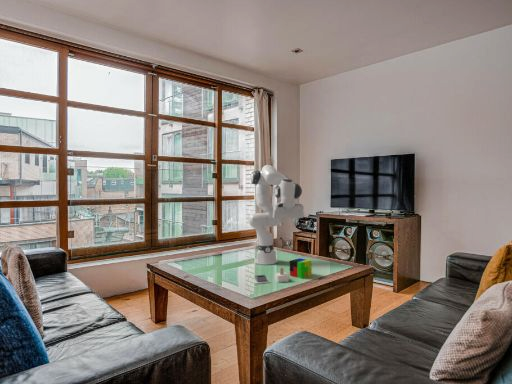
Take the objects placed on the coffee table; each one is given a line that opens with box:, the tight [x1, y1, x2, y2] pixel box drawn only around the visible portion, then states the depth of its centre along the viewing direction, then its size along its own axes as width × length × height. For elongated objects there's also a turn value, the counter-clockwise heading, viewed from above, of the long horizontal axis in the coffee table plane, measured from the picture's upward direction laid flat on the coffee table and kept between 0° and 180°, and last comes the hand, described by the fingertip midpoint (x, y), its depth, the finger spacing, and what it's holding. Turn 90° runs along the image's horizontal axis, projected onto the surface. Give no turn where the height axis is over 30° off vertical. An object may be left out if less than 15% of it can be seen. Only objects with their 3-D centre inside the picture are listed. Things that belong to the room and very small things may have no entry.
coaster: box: [251, 277, 271, 285], centre depth 208 cm, size 10×10×1 cm
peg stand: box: [274, 266, 290, 283], centre depth 209 cm, size 7×7×8 cm
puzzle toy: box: [289, 257, 312, 279], centre depth 219 cm, size 10×10×10 cm
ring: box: [254, 274, 268, 282], centre depth 208 cm, size 6×6×2 cm
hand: (288, 225), depth 215 cm, fingers open, 8 cm apart
